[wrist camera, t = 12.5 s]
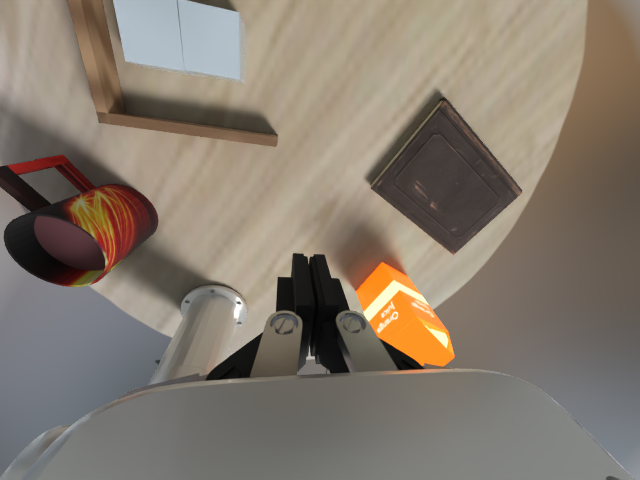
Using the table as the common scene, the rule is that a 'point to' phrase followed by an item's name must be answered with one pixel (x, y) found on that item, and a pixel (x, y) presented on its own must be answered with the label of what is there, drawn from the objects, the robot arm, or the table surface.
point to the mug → (74, 225)
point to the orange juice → (404, 317)
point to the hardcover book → (446, 180)
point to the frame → (107, 87)
